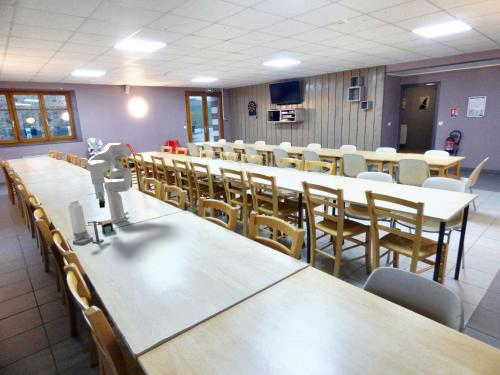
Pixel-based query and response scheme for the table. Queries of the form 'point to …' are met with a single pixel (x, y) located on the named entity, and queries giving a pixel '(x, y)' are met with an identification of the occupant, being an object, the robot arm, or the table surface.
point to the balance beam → (93, 223)
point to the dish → (83, 240)
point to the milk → (77, 217)
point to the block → (107, 228)
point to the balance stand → (96, 235)
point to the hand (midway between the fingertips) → (102, 205)
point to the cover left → (107, 222)
